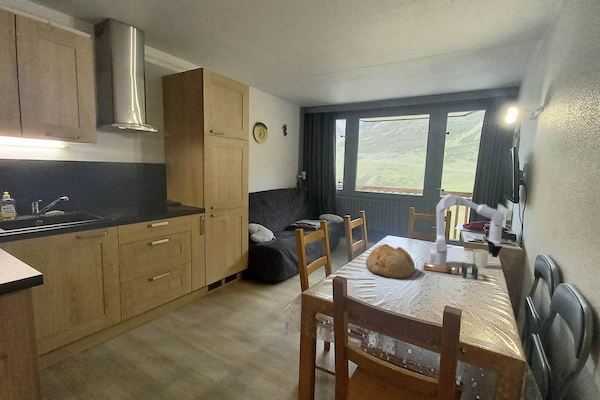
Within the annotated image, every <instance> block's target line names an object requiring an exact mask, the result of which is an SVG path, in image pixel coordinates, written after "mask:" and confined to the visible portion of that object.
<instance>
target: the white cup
mask: <svg viewBox="0 0 600 400" xmlns="http://www.w3.org/2000/svg"><path fill="white" fill-rule="evenodd" d="M489 254H490V253H489V250H487V249H486V250H485V249H481V248H474V249H473V250H472V263H473V264H476V266H477V268H478V269H480V268H481V269H485V268H487V264H488V259H489Z"/></svg>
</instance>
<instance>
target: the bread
mask: <svg viewBox="0 0 600 400" xmlns="http://www.w3.org/2000/svg"><path fill="white" fill-rule="evenodd" d="M365 267H366V269H367V270H368V271H370V272H371V273H374V274H377V275H378V276H379V275H380V276H384V277H387V278H389V279H391V278H392V279H407V278H410V277H412V276H413V275H414V272H415V270H416V266H415V262H414V261H413V258H412V257H411V255H410V254H409V252H408V251H407V250H405V249H404V248H403V247H401V246H399V247H393V246H391V245H389V244H386V243H385V244H381V245H378V246H376V247H375V248H374V249H372V251H371V252H370V253H369V254H368V256H367V257H366V260H365Z"/></svg>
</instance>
